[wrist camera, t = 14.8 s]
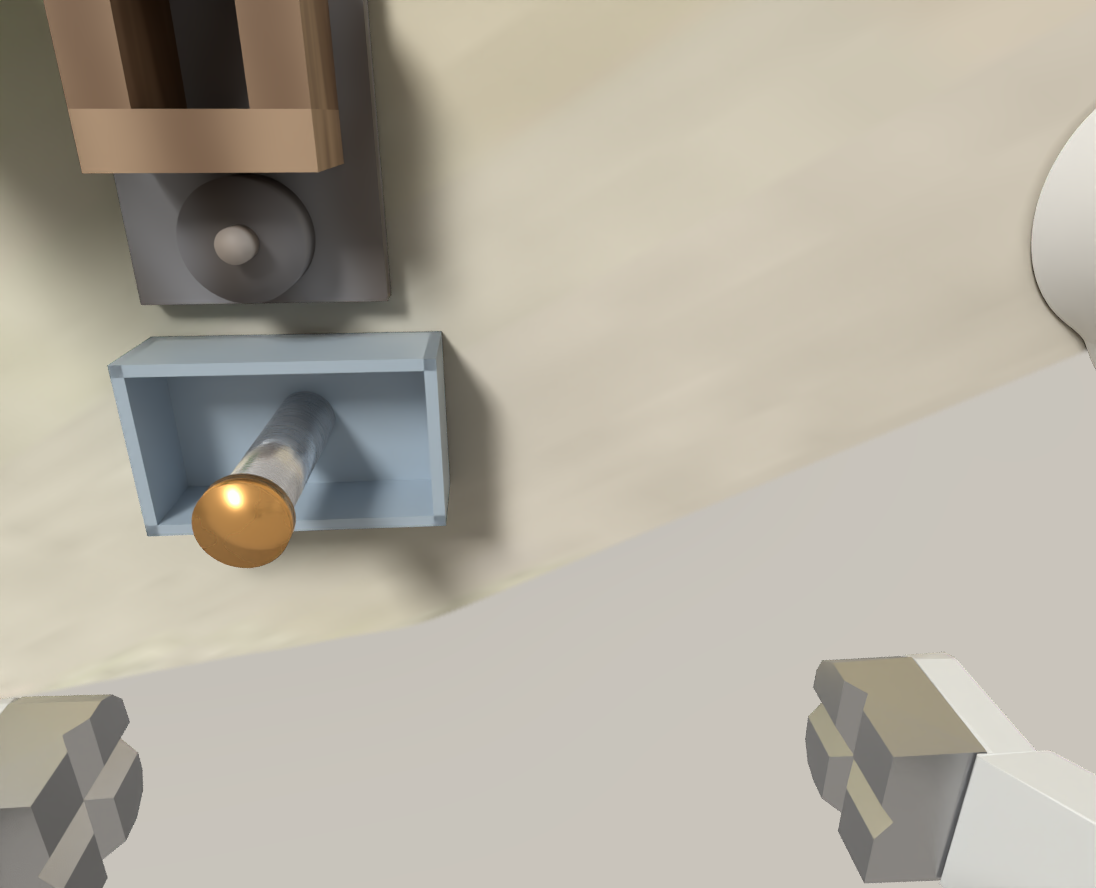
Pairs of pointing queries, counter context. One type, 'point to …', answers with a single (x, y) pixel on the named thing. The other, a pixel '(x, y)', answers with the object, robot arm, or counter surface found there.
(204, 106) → the bracket
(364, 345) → the tray
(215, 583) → the counter surface
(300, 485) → the pin
